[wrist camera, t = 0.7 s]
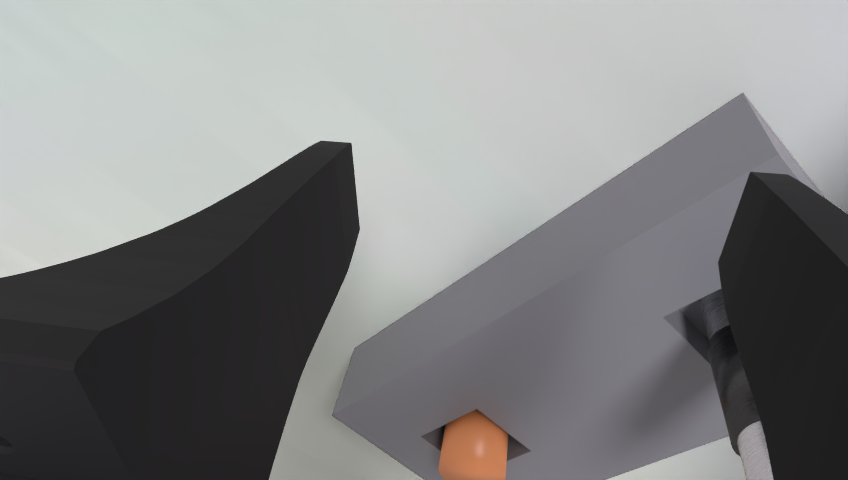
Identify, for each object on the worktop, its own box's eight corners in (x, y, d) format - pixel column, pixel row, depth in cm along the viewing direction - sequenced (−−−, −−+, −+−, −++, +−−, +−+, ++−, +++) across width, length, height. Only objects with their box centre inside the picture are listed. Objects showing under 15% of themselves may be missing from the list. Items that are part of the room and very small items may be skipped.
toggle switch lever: (779, 280, 21) (875, 500, 15) (741, 325, 22) (814, 542, 16) (714, 261, 21) (783, 473, 15) (681, 307, 22) (731, 518, 16)
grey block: (743, 92, 20) (778, 154, 17) (888, 280, 23) (940, 360, 20) (354, 348, 30) (332, 415, 27) (492, 451, 34) (485, 522, 31)
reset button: (480, 381, 27) (472, 444, 24) (522, 415, 28) (519, 479, 25) (436, 404, 28) (424, 466, 26) (477, 436, 29) (470, 498, 27)
